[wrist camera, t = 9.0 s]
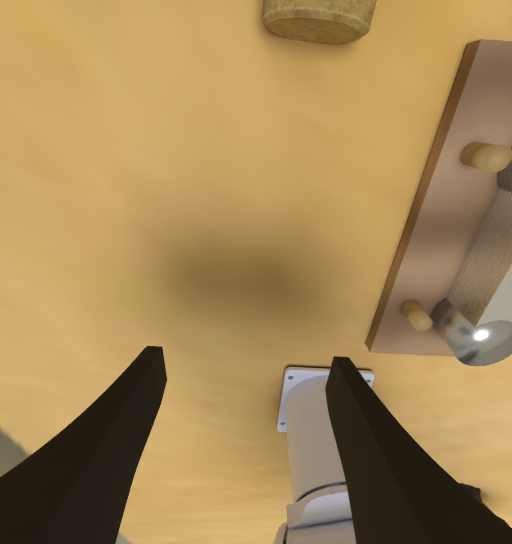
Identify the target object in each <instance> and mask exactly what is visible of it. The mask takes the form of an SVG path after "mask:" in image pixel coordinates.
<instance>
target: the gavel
mask: <svg viewBox="0 0 512 544" xmlns="http://www.w3.org/2000/svg"><path fill="white" fill-rule="evenodd" d="M376 1H377V0H264V6H263V17H262V21H263V23H264V24H265V26H266V27H267V28H268V29H269V30H270V31H271V32H273V33H275V34H277V35H279V36H282V37H285V38H289V39H293V40H300V41H307V42H314V43H321V44H341V43H349V42H353V41H356V40H358V39H360V38H361V37H363V36H364V35H366V34H367V33H368V32H369V30H370V25H371V21H372V17H373V13H374V9H375V5H376Z"/></svg>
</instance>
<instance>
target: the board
mask: <svg viewBox="0 0 512 544" xmlns="http://www.w3.org/2000/svg"><path fill="white" fill-rule="evenodd" d="M511 147H512V41H497V40H482V39H481V40H478V41H475V42H472V43H468V44H467V46H466V49H465V52H464V55H463V58H462V61H461V64H460V67H459V70H458V73H457V76H456V79H455V82H454V85H453V88H452V91H451V94H450V97H449V99H448V102H447V105H446V108H445V111H444V114H443V117H442V120H441V123H440V126H439V129H438V132H437V135H436V138H435V141H434V144H433V147H432V150H431V153H430V156H429V159H428V161H427V164H426V167H425V170H424V173H423V176H422V179H421V182H420V185H419V188H418V191H417V194H416V197H415V200H414V203H413V206H412V209H411V212H410V215H409V218H408V220H407V223H406V226H405V229H404V232H403V235H402V238H401V241H400V244H399V247H398V250H397V253H396V256H395V259H394V262H393V265H392V268H391V271H390V274H389V277H388V280H387V282H386V285H385V288H384V291H383V294H382V297H381V300H380V303H379V306H378V309H377V312H376V315H375V318H374V321H373V324H372V327H371V330H370V333H369V336H368V339H367V341H366V345H367V347H368V350H369V352H372V353H392V354H412V355H432V356H452V357H456V356H455V355H454V354H453V352H452V351H451V350H450V349H449V347H448V346H447V345H446V343H445V342H444V341H443V340H442V338H441V337H440V336H439V335H438V333H437V332H436V331H435V329H434V328H433V327H432V324H433V321H432V320H431V318H430V315H431V312H432V310H433V309H434V307H435V306H436V305H437V304H438V303H439V302H440V301H441V300H443V299H444V298H445V297H446V295H447V293H448V291H449V289H450V287H451V285H452V283H453V281H454V278H455V276H456V274H457V272H458V270H459V268H460V266H461V264H462V262H463V260H464V258H465V256H466V253H467V251H468V249H469V247H470V245H471V243H472V241H473V239H474V237H475V235H476V233H477V231H478V228H479V226H480V224H481V222H482V220H483V218H484V216H485V214H486V212H487V210H488V208H489V205H490V203H491V201H492V199H493V197H494V195H495V193H496V191H497V189H498V187H497V172H498V171H501V170H502V169H504V168H505V167H506V166H507V165H508V164H509V163H510V161H511V159H512V150H511Z"/></svg>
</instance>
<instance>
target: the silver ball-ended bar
mask: <svg viewBox="0 0 512 544" xmlns="http://www.w3.org/2000/svg"><path fill="white" fill-rule="evenodd" d="M511 150H512V147H511ZM497 187H498V189H497V191H496V193H495V195H494V197H493V199H492V201H491V203H490V205H489V208H488V210H487V212H486V214H485V216H484V218H483V220H482V222H481V224H480V226H479V228H478V231H477V233H476V235H475V237H474V239H473V241H472V243H471V245H470V247H469V249H468V251H467V253H466V256H465V258H464V260H463V262H462V264H461V266H460V268H459V270H458V272H457V274H456V276H455V278H454V281H453V283H452V285H451V287H450V289H449V291H448V293H447V295H446V297H445V298H444V299H443V300H441V301H440V302H439V303H438V304H437V305H436V306H435V307H434V309H433V310H432V312H431V315H430V318H431V320H432V321H433V324H432V327H433V328H434V329H435V331H436V332H437V333H438V335H439V336H440V337H441V338H442V340H443V341H444V342H445V343H446V345H447V346H448V347H449V349H450V350H451V351H452V352H453V354H454V355H455V356H456V357H457V359H458V360H459V361H460V362H462V363H464V364H466V365H470V366H485V365H490V364H493V363H496V362H499V361H501V360H503V359H505V358H507V357H508V356H510V355H511V354H512V159H511V161H510V163H509V164H508V165H507V166H506V167H505V168H504V169H502V170H501V171H498V172H497Z"/></svg>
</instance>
